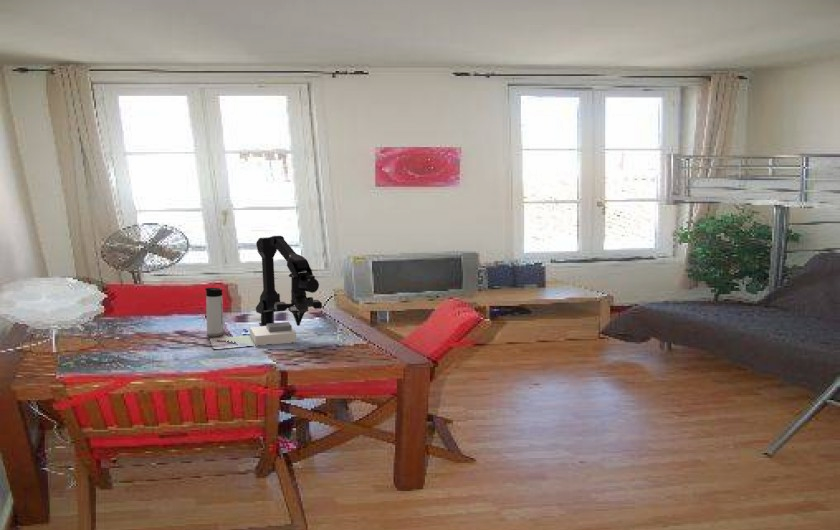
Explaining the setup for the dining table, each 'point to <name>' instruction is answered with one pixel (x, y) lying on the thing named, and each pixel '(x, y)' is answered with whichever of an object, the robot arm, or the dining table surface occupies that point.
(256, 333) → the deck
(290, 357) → the dining table surface
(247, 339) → the mat
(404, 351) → the dining table surface
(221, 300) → the travel mug
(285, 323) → the grey rectangular block
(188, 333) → the dining table surface
